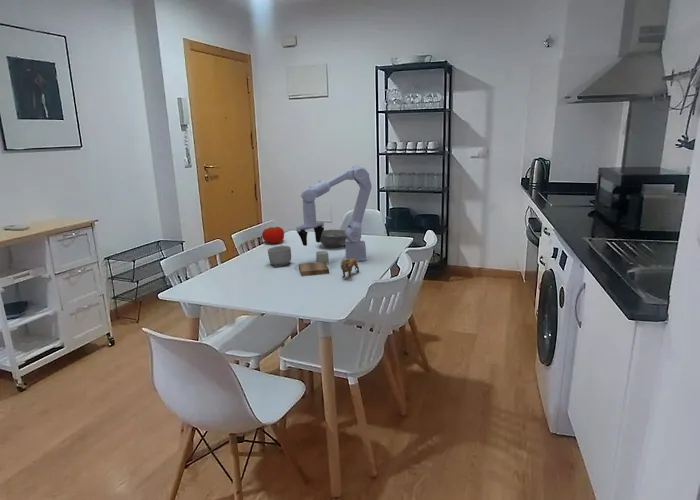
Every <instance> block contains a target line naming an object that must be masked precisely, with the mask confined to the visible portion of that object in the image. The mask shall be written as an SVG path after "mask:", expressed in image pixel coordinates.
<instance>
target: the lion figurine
mask: <svg viewBox="0 0 700 500" xmlns="http://www.w3.org/2000/svg"><path fill="white" fill-rule="evenodd" d="M358 265H359V264H358V261H357V260H356V259H354V258H352V259H350V260H349V259H347V258H345V259H344V258H343V259H342V260H341V263H340V268H341V271H342V278H343V279H344V278H346V273H347V274H348V275H347V276H348V278H349V279H352V271H353V267H354V270H356V273H360V267H359V266H358Z"/></svg>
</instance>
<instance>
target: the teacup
mask: <svg viewBox="0 0 700 500" xmlns="http://www.w3.org/2000/svg"><path fill="white" fill-rule="evenodd" d="M267 255H268V259H269V263H271V264H272V265H273V266H274V267H275V266H276V267H281V266H282V267H283V266H286V265H288V264H289V263H290V262H291V260H292V247H291V246H290V245H283V244H280V245H275V246H272V247H269V248H268V249H267Z"/></svg>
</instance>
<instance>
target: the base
mask: <svg viewBox="0 0 700 500" xmlns="http://www.w3.org/2000/svg"><path fill="white" fill-rule="evenodd" d="M298 271H299V272H300V275H301V277H306V276H317V275H327V274H330V269H329V267H328V265H327V264H326V263H325V262H317V261H316V262H308V263H307V262H306V263H299V264H298Z"/></svg>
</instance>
